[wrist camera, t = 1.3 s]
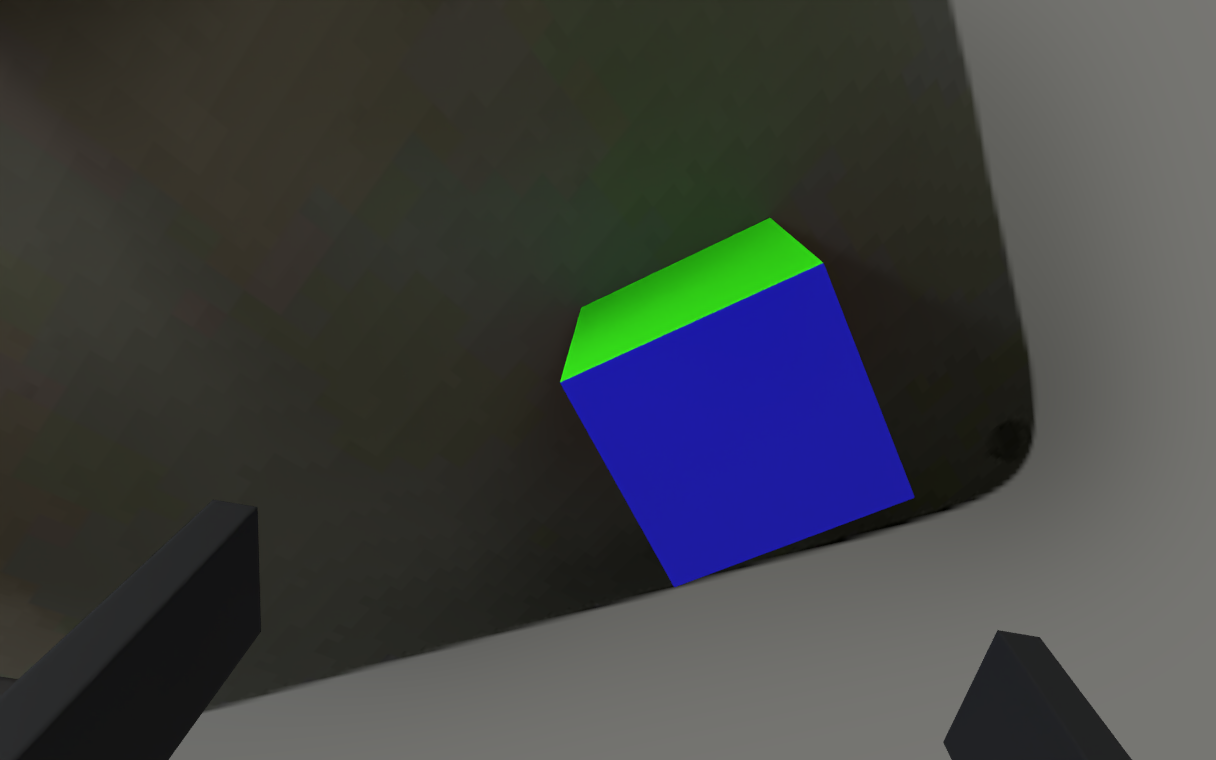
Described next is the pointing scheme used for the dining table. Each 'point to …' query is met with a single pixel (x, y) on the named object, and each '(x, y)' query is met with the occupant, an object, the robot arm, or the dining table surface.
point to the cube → (732, 404)
